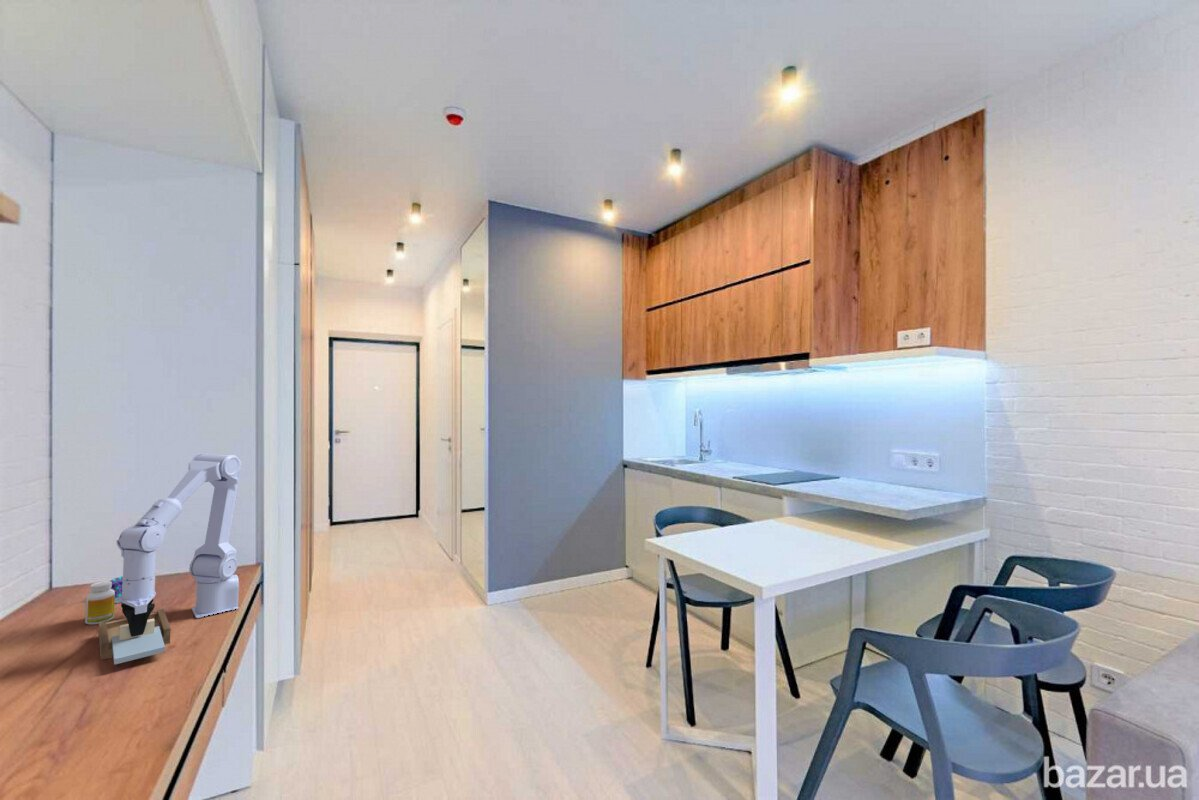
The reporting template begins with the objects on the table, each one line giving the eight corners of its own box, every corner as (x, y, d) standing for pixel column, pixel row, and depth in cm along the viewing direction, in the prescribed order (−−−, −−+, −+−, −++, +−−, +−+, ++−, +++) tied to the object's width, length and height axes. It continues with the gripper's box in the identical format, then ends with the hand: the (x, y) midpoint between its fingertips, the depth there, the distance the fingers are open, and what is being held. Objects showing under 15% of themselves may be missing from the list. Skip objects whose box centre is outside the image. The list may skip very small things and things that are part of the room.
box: (162, 622, 132) (163, 608, 132) (169, 643, 122) (170, 628, 122) (98, 636, 123) (99, 622, 123) (100, 660, 114) (101, 644, 114)
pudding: (124, 587, 153) (125, 569, 152) (160, 590, 151) (161, 573, 151) (80, 603, 141) (81, 584, 141) (119, 607, 140) (120, 588, 139)
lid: (158, 630, 124) (159, 614, 124) (164, 651, 116) (165, 633, 115) (111, 641, 118) (112, 624, 118) (114, 664, 109) (114, 645, 109)
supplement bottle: (118, 619, 133) (119, 582, 132) (90, 627, 128) (92, 589, 128) (108, 614, 135) (109, 578, 135) (80, 621, 130) (82, 584, 130)
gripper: (114, 571, 121) (111, 627, 121) (117, 590, 111) (114, 651, 111) (153, 565, 126) (150, 618, 126) (159, 582, 116) (157, 640, 116)
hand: (136, 633), depth 119 cm, fingers closed on lid, 2 cm apart
